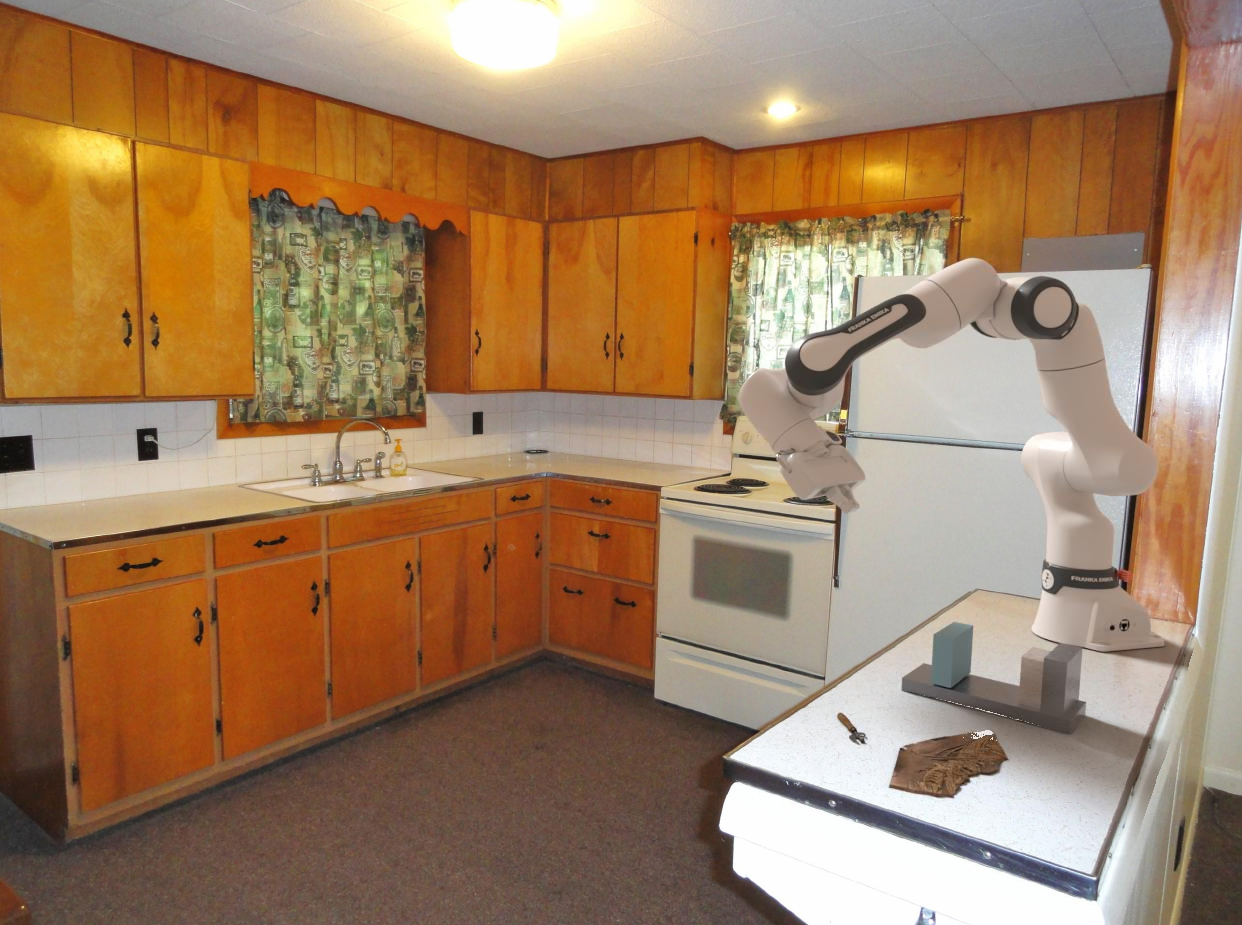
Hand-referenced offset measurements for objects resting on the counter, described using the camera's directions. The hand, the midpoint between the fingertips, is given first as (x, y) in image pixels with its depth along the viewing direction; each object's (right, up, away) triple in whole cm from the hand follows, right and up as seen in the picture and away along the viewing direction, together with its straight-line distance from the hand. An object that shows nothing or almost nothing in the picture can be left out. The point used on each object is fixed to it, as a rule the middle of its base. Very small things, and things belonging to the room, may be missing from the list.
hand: (853, 510), depth 139 cm
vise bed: (+17, -28, -12) cm, 35 cm away
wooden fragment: (+4, -31, -31) cm, 44 cm away
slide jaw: (+13, -26, -9) cm, 30 cm away
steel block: (+22, -27, -17) cm, 39 cm away
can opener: (-7, -30, -23) cm, 38 cm away
